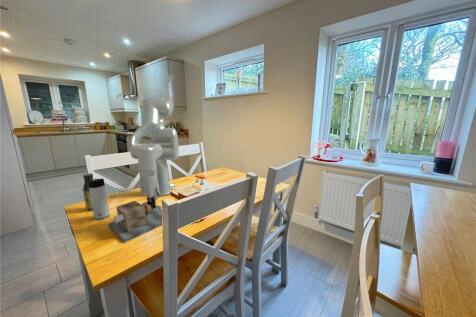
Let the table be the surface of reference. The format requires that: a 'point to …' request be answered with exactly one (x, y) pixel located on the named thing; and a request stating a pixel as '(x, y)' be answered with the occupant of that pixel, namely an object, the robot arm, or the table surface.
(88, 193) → the sauce bottle
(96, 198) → the travel mug
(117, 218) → the shaft
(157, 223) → the housing
